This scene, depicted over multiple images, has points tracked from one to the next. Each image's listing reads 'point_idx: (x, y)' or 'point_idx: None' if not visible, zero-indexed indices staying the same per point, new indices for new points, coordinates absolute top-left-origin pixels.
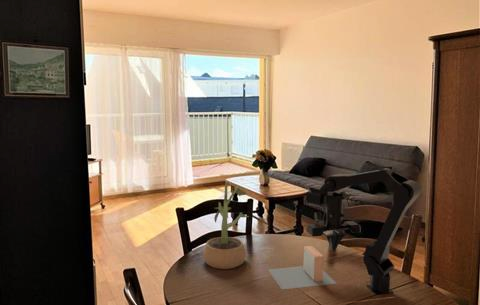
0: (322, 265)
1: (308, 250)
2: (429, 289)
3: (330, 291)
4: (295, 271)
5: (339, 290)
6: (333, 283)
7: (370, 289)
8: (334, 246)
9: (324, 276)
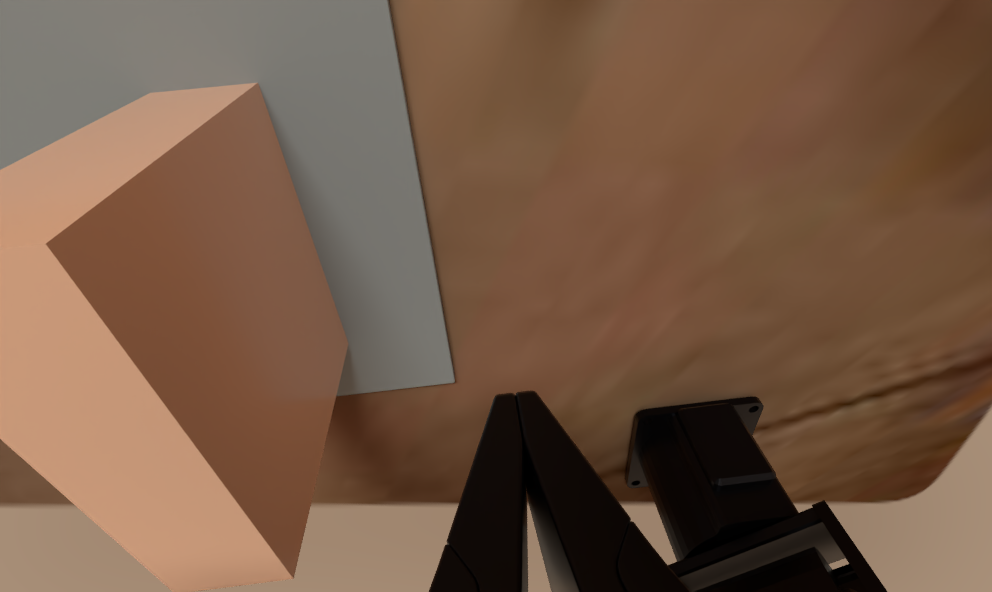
0: (314, 464)
1: (21, 453)
2: (953, 436)
3: (378, 440)
4: (44, 136)
5: (442, 433)
6: (428, 381)
7: (632, 452)
8: (536, 530)
9: (386, 279)
